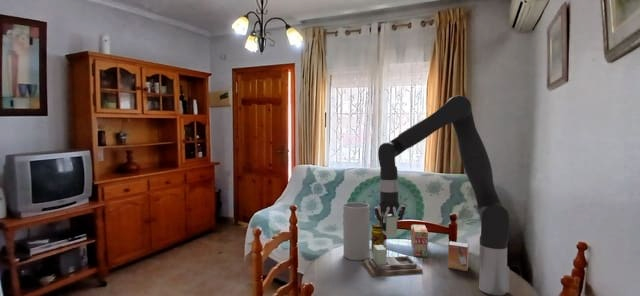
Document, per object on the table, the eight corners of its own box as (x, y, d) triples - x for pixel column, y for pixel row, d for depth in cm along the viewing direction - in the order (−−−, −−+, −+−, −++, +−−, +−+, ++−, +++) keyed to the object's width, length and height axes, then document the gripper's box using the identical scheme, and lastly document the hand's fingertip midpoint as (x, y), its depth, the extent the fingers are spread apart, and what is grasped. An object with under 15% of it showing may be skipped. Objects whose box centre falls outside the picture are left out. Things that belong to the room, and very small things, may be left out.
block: (382, 262, 150) (382, 244, 150) (386, 267, 144) (386, 249, 144) (373, 262, 150) (373, 245, 149) (377, 268, 144) (377, 249, 143)
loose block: (391, 232, 144) (391, 213, 144) (396, 236, 138) (396, 217, 138) (382, 232, 143) (382, 214, 143) (387, 237, 137) (387, 217, 137)
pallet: (409, 260, 156) (409, 254, 156) (422, 272, 142) (422, 265, 142) (363, 263, 153) (363, 256, 153) (372, 276, 139) (372, 269, 139)
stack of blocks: (410, 242, 183) (410, 219, 182) (422, 242, 182) (422, 220, 181) (414, 256, 162) (414, 231, 161) (427, 257, 161) (428, 231, 160)
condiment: (369, 249, 171) (369, 226, 171) (372, 244, 179) (372, 222, 179) (383, 251, 169) (383, 227, 168) (386, 245, 177) (386, 223, 176)
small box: (447, 268, 147) (447, 244, 147) (449, 263, 152) (449, 240, 152) (467, 271, 144) (467, 247, 143) (468, 266, 149) (468, 243, 148)
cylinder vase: (341, 260, 157) (341, 207, 156) (345, 250, 170) (345, 201, 168) (368, 262, 154) (368, 208, 153) (370, 252, 167) (370, 202, 165)
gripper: (375, 192, 135) (376, 234, 136) (408, 190, 137) (409, 231, 138) (370, 189, 143) (370, 229, 143) (401, 187, 145) (402, 227, 145)
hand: (389, 230), depth 141 cm, fingers closed on loose block, 4 cm apart
